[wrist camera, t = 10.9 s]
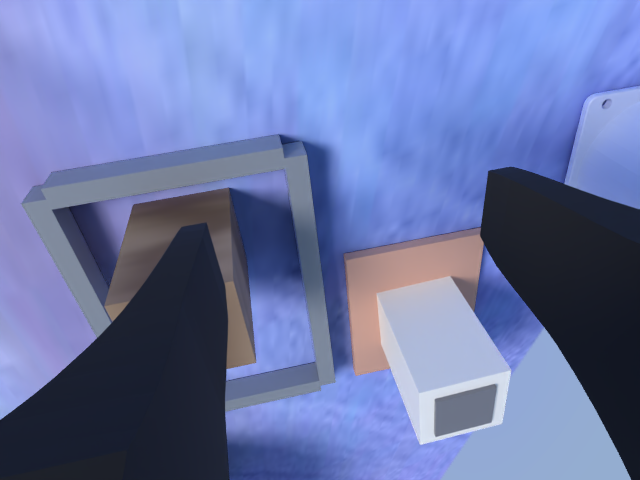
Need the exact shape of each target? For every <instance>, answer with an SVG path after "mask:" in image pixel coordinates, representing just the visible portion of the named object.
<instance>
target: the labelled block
mask: <svg viewBox="0 0 640 480" xmlns="http://www.w3.org/2000/svg"><path fill="white" fill-rule="evenodd" d="M377 303H378V314H379V326H380V337H381V345H382V348H383V350H384V353H385V355H386V358H387V361H388V363H389V366H390V368H391V371H392V374H393V376H394V379H395V381H396V384H397V386H398V389H399V392H400V394H401V397H402V399H403V402H404V405H405V407H406V410H407V412H408V415H409V418H410V420H411V423H412V425H413V428H414V431H415V433H416V436H417V438H418V441H419V443H420V445H422V444H426V443H430V442H434V441H437V440H441V439H445V438H449V437H453V436H457V435H461V434H464V433H468V432H472V431H476V430H479V429H484V428H487V427H491V426H495V425H499V424H502V421H503V416H504V410H505V404H506V398H507V392H508V387H509V381H510V375H511V369H510V367H509V366H508V364H507V363H506V361H505V360H504V358H503V357H502V355H501V353H500V352H499V350H498V349H497V347H496V346H495V344H494V343H493V341H492V340H491V338H490V337H489V335H488V333H487V332H486V330H485V329H484V327H483V326H482V324H481V323H480V321H479V320H478V318H477V317H476V315H475V313H474V312H473V310H472V309H471V307H470V306H469V304H468V303H467V301H466V300H465V298H464V297H463V295H462V293H461V292H460V290H459V289H458V287H457V286H456V284H455V283H454V281H453V280H452V278H451V277H450V276H448V277H444V278H440V279H435V280H431V281H427V282H422V283H418V284H414V285H410V286H405V287H401V288H397V289H393V290H388V291H384V292H380V293H377Z"/></svg>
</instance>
